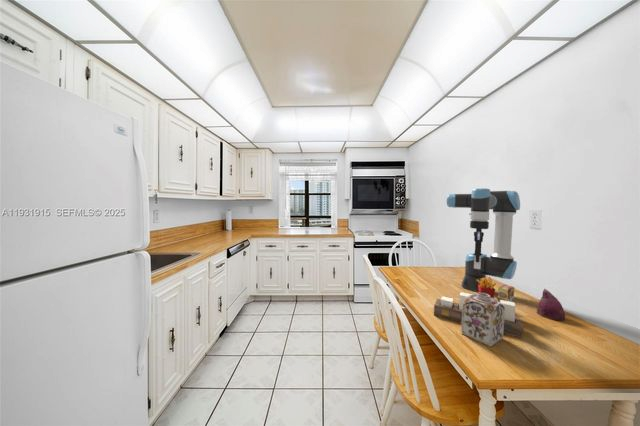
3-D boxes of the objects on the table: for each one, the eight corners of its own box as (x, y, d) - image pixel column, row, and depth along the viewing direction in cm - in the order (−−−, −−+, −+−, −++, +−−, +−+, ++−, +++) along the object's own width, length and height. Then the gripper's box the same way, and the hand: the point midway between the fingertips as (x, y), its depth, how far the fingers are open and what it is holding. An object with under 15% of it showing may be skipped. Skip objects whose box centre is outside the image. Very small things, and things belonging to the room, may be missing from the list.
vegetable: (538, 322, 121) (529, 293, 122) (538, 313, 129) (530, 285, 129) (567, 324, 114) (558, 293, 115) (565, 314, 122) (557, 285, 122)
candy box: (506, 320, 115) (507, 289, 115) (495, 317, 119) (497, 286, 118) (513, 316, 120) (514, 286, 119) (503, 313, 124) (504, 283, 123)
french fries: (494, 307, 131) (496, 280, 130) (477, 304, 133) (478, 278, 133) (489, 301, 139) (490, 275, 138) (472, 299, 142) (474, 273, 141)
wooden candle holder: (436, 308, 128) (437, 298, 128) (519, 327, 109) (519, 316, 109) (433, 315, 119) (434, 305, 119) (522, 337, 100) (523, 326, 100)
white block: (459, 305, 120) (460, 292, 119) (471, 308, 117) (472, 294, 117) (458, 309, 116) (459, 295, 115) (471, 312, 113) (471, 297, 112)
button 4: (499, 314, 111) (500, 299, 111) (513, 317, 108) (514, 302, 108) (500, 318, 107) (501, 303, 106) (514, 322, 104) (515, 306, 104)
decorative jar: (460, 333, 103) (462, 292, 102) (473, 326, 109) (475, 287, 109) (492, 347, 93) (494, 302, 92) (504, 339, 99) (506, 296, 99)
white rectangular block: (441, 309, 124) (442, 296, 124) (452, 312, 122) (453, 298, 121) (440, 313, 120) (440, 299, 120) (451, 315, 117) (452, 301, 117)
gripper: (470, 219, 124) (468, 264, 125) (469, 220, 113) (467, 270, 114) (488, 220, 120) (486, 266, 121) (489, 221, 109) (486, 272, 110)
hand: (477, 268), depth 117 cm, fingers closed
